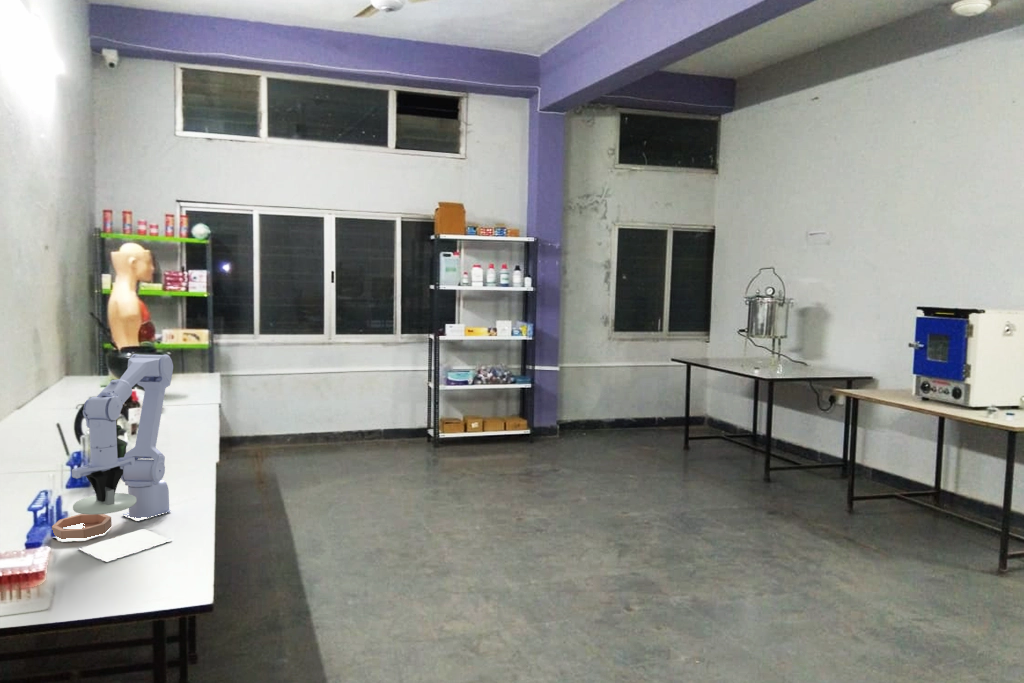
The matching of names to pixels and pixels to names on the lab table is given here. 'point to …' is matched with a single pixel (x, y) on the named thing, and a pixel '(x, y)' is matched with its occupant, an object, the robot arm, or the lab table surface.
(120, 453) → the potion bottle
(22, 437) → the lab table surface
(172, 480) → the lab table surface
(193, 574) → the lab table surface
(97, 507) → the lid
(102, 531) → the bowl
